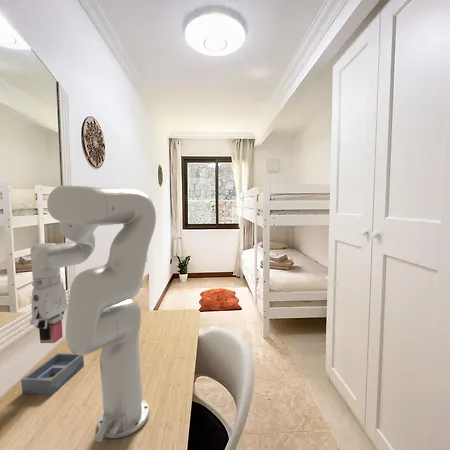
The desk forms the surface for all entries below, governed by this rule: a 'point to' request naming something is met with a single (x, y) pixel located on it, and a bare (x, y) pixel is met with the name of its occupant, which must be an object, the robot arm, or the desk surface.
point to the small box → (54, 329)
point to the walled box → (59, 364)
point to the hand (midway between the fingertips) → (51, 335)
